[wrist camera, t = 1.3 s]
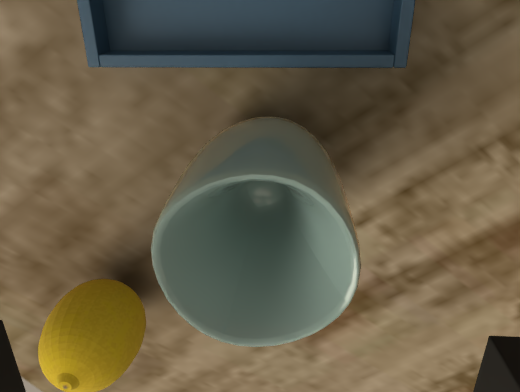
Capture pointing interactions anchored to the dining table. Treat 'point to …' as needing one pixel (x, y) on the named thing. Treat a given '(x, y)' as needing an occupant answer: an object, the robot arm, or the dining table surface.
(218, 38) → the tray
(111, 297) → the lemon
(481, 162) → the dining table surface
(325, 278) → the cup
